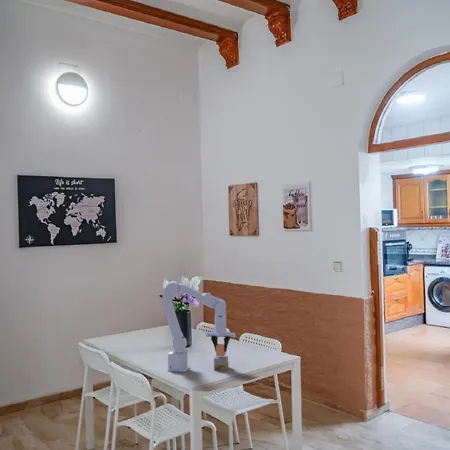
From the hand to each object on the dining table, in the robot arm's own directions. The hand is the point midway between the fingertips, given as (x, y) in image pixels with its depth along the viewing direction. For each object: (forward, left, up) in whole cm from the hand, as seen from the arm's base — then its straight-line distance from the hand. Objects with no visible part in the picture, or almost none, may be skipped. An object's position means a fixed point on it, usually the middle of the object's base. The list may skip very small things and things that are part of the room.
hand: (220, 351), depth 243 cm
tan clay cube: (0, 0, -2) cm, 2 cm away
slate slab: (0, 0, -6) cm, 6 cm away
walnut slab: (0, 0, -9) cm, 9 cm away
